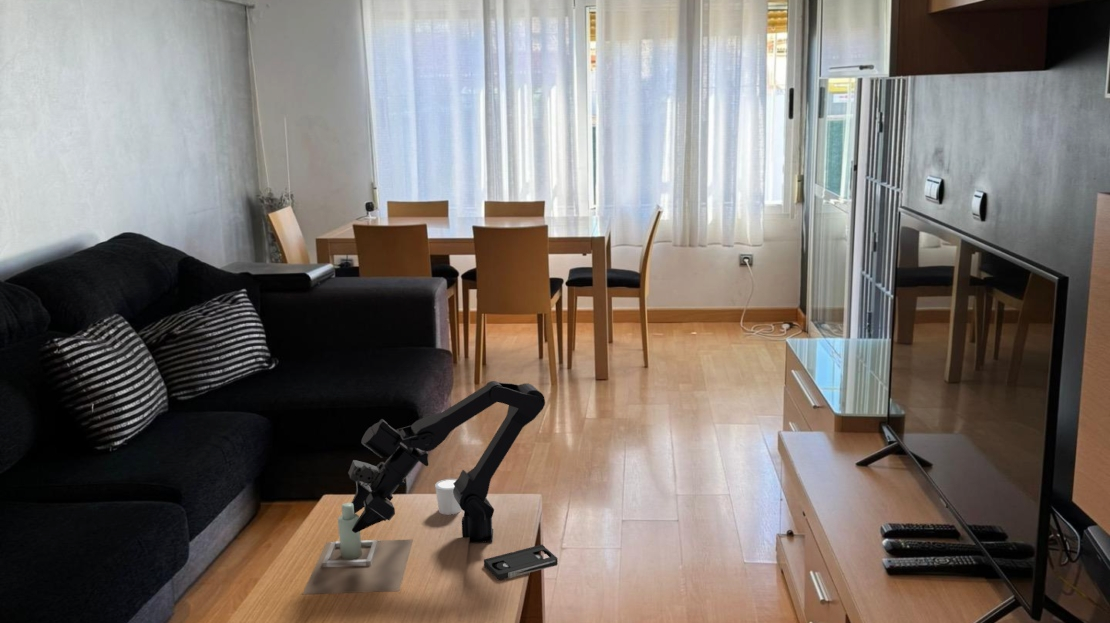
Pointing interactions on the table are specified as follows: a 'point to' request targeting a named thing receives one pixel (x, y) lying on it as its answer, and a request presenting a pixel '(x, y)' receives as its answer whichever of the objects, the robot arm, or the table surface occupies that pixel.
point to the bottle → (349, 533)
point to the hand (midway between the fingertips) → (350, 523)
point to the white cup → (447, 497)
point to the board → (360, 568)
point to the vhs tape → (520, 562)
